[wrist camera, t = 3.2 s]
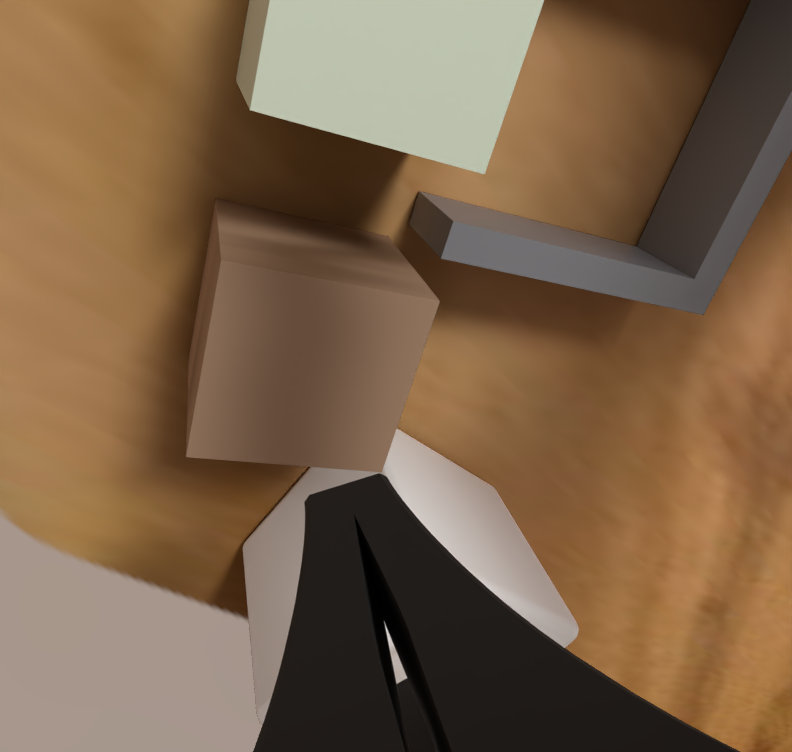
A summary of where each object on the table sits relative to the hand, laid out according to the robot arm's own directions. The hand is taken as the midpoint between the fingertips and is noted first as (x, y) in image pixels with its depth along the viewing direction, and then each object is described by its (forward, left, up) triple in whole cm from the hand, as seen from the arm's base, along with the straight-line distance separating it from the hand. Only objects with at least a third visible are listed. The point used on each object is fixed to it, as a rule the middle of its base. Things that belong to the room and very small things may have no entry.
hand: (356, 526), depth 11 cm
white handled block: (-5, +8, -10) cm, 14 cm away
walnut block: (0, 0, -10) cm, 10 cm away
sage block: (0, -8, -10) cm, 13 cm away
